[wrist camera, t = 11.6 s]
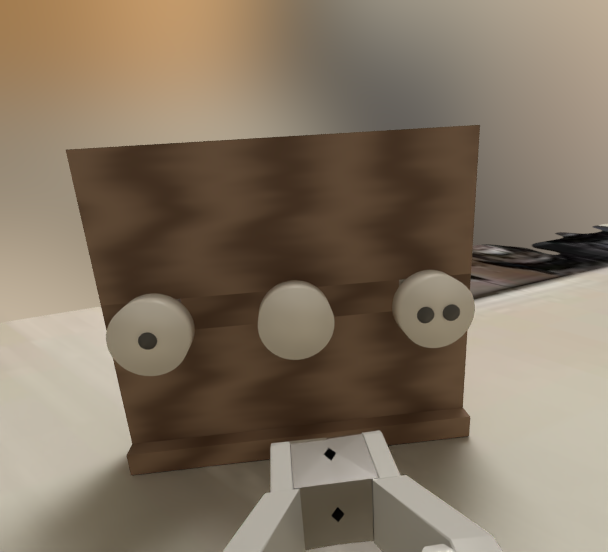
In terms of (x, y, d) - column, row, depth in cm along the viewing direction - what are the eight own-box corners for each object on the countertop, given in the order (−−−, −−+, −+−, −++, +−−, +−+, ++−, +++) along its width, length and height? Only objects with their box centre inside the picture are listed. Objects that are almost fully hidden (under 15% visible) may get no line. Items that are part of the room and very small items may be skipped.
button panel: (131, 475, 23) (54, 148, 18) (166, 400, 31) (119, 156, 26) (468, 435, 25) (490, 122, 19) (421, 373, 32) (428, 137, 27)
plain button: (261, 363, 20) (253, 292, 19) (263, 323, 25) (257, 265, 24) (335, 356, 20) (332, 285, 19) (322, 317, 25) (319, 260, 24)
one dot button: (114, 381, 19) (97, 307, 18) (149, 334, 24) (137, 276, 23) (193, 373, 19) (181, 300, 18) (210, 329, 24) (202, 271, 23)
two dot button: (401, 352, 20) (402, 280, 19) (373, 314, 25) (372, 257, 24) (473, 345, 20) (478, 274, 19) (430, 308, 25) (432, 252, 24)
